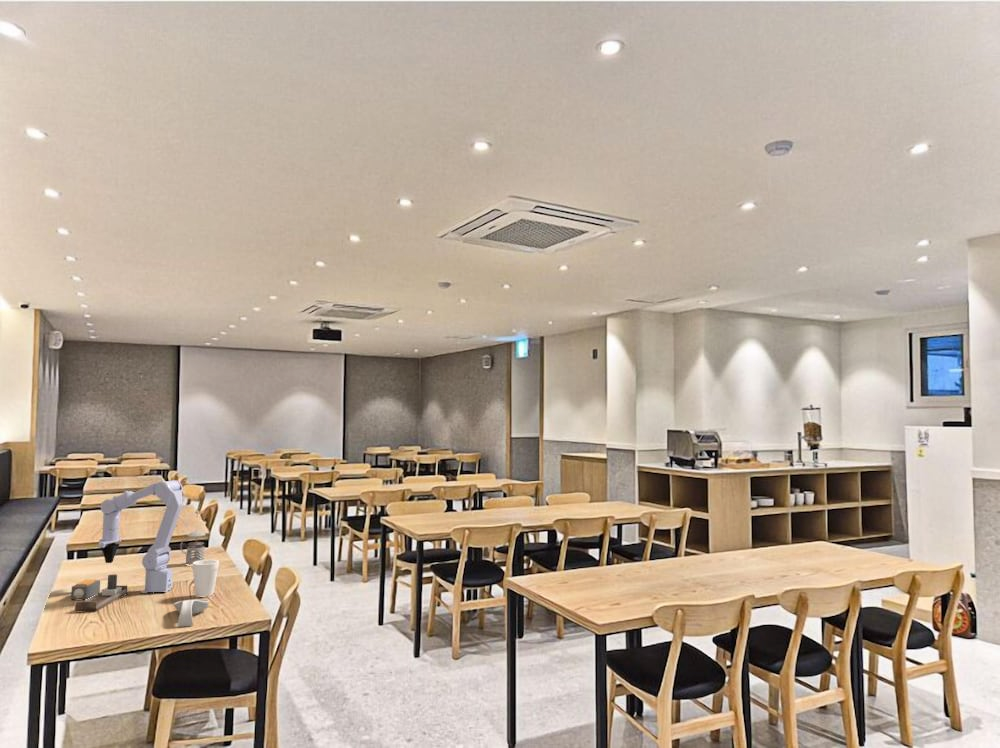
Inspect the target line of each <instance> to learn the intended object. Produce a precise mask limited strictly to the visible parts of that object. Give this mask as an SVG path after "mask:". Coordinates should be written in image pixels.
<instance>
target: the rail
mask: <svg viewBox="0 0 1000 748" xmlns="http://www.w3.org/2000/svg"><path fill="white" fill-rule="evenodd" d="M116 587H122V591H121V592H119V593H117V594H115V595H113V596H102V591H100V593H99V594H97V595H95V596H93V597H91V598H89V599H87V600H79V601H75V605H74V606H75V607H74V612H75V611H82V612H81V613H95V612H98V611H99V610H101V609H103V608H105V607H107V606H109V605H110V603H111V604H112V603H114V602H116V601H118V600H119V598H120V599H122V598H123V597H125V596H126V595H125V594H127V595H128V585H117V586H116ZM124 595H125V596H124ZM122 596H123V597H122ZM117 599H118V600H117ZM115 600H116V601H115ZM113 601H114V602H113ZM108 604H109V605H108ZM84 611H85V612H84Z"/></svg>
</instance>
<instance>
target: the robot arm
mask: <svg viewBox="0 0 1000 748" xmlns="http://www.w3.org/2000/svg"><path fill="white" fill-rule="evenodd" d="M183 490H184V487H183V485H182V483H181V482H180V481H179V480H176V479H172V480H168V481H167V480H166V481H159V482H157V483H152V484H150V485H147V486H145V487H143V488H141V489H139V490H137V491H135V492H134V491H131V490H125V491H123V492H122V494H119V495H115V496H114V495H113V498H111V499H110V498H108V499H107V498H106V499H105V500H103V501H102V502H101V504H100V511H101V512H102V513H103V514H102V515H103V517H102V519H103V520H102V536H101V537H102V538H101V539H99V540H98V541H99V542H98V548H99V549H100V550H101V551H102V554H103V556H104V561H105V564H112V563H113V561H114V559H115V555H116V553H117V550H118V548H119V547H120V543H118V542H122V536H119V533H120V517H121V513H122V510H125V509H127V508H129V507H132V506H134V505H136V504H137V502H138V501H139V500H140V499H143V498H145V497H148V496H151V495H153V496H156V497H157V498H158V499H159V500H160V501H161V502H162V503H163V504H164V505H165V507H166V508H165V511H164V514H163V516H162V520H161V522H160V524H159V528H158V530H157V534H156V537H155V539H154V542H153V544H152V545H150V547H149V548H148V549H147V552H146V554H145V555H144V556H143V557H142V559H141V560H142V561H141V562H142V563H141V564H142V566H143V567H144V568H145V569H144V570H145V575H144V577H145V579H144V581H145V582H144V590H141V591H140V594H148V593H147V592H153V593H152V594H155V593H154V592H166V591H167V592H169V591H170V590H172V589H173V588H172V587H173V574H174V572H173V569H172V568H168V567H167V564H168V563H169V562H170V559H171V551H172V548H171V547H170V546H169V545H170V542H171V539H172V536H173V533H174V531H175V528H176V525H177V522H178V519H179V516H180V513H181V511H182V509H183V504H184V503H183V501H184V500H183ZM171 588H172V589H171ZM168 590H169V591H168ZM167 592H166V593H167Z"/></svg>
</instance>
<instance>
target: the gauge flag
mask: <svg viewBox="0 0 1000 748" xmlns="http://www.w3.org/2000/svg"><path fill="white" fill-rule="evenodd" d="M96 580H97V579H85V580H82V581H80V582H78V583H76V584H75V585H76V586H87V585H89V584H91V583H94V582H96Z"/></svg>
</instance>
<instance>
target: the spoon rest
mask: <svg viewBox="0 0 1000 748" xmlns="http://www.w3.org/2000/svg"><path fill="white" fill-rule="evenodd" d="M210 603H211V601H210V599H208V598H197V599H196V598H195V599H186V600H180V601H176V602H174V603H173V606H174V609H176V611H177V612H179V616H178V620H177V625H176V626H177V627H178V628H182V627H183V628H185V627H192V626H193V625H194V621H193V620H194V619H193V615H192V614H195V615H197V614H196V613H198V614H200V613H202V612H203V611H204V610H205V609H207V608H208V606H209V605H210ZM199 612H200V613H199Z"/></svg>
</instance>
